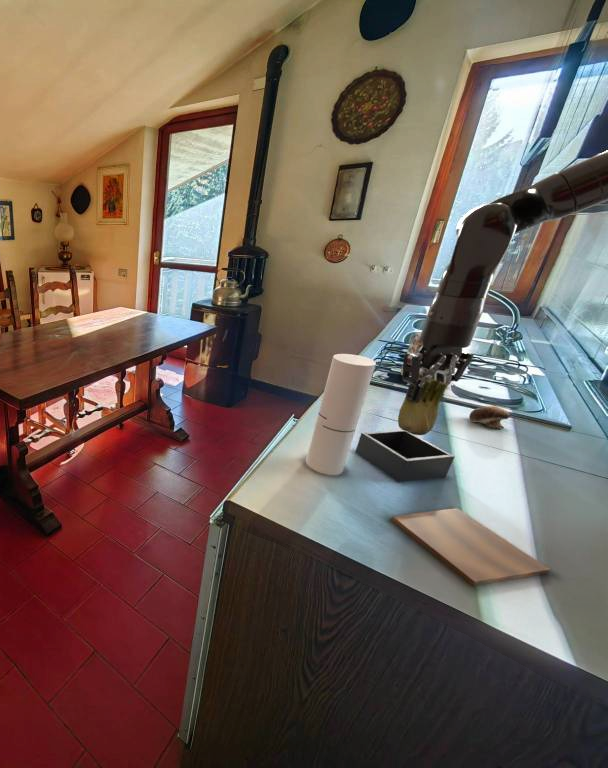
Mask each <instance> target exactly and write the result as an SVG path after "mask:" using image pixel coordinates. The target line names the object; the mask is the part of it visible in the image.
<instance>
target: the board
mask: <svg viewBox="0 0 608 768" xmlns="http://www.w3.org/2000/svg"><path fill="white" fill-rule="evenodd" d="M390 521H392V522H394V524H396V525H397V526H398V527H399V528H401V529H402V530H403V531H404V532H406V533H407V534H408V535H409V536H411V538H413V539H414V540H415V541H416V542H418V543H419V544H421V545H422V546H423V547H425V549H426V550H428V551H429V552H430V553H431V554H433V555H434V556H436V558H438V559H439V560H440V561H442V562H443V563H444V564H446V566H448V567H449V568H450V569H451V570H453V571H454V572H455V573H456V574H458V575H459V576H460V577H461V578H463V580H465V581H467V582H468V583H469V584H470V585H471V586H474V587H475V586H479V585H485V584H486V585H487V584H493V583H498V582H503V581H510V580H517V579H523V578H527V577H533V576H540V575H546V574H549V572H550V571H551V569H550V568H549V567H548V566H546V565H544V564H543V563H541V562H540V561H538V560H537V559H535V558H534V557H533V556H531V555H530V554H527V553H526V552H524V551H523V550H522V549H520V548H518V547H517V546H515V545H514V544H513V543H511V542H509V541H508V540H507V539H506V538H503V537H502V536H500V535H499V534H497V533H496V532H494V531H493V530H491V529H490V528H488V527H487V526H485V525H483V523H481V522H479V521H478V520H476V519H475V518H473V517H472V516H470V515H468V514H467V513H465V512H464V511H462V510H461V509H459V508H458V507H455V508H446V509H439V510H430V511H423V512H415V513H405V514H398V515H392V516H391V518H390Z"/></svg>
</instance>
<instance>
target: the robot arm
mask: <svg viewBox="0 0 608 768" xmlns="http://www.w3.org/2000/svg"><path fill="white" fill-rule="evenodd" d="M607 201H608V150H606V151H604V152H602V153H598V154H595V155H594V156H592V157H589V158H587V159H584V160H582V161H580V162H578V163H576V164H573V165H571V166H568V167H566V168H564V169H561V170H560V171H557V172H555V173H552V174H551V175H549V176H546V177H545V178H543V179H541V180H539V181H537V182H535V183H534V184H531V185H529V186H527V187H525V188H523V189H519V190H517V191H514V192H511V193H509V194H506V195H504V196H501V197H499V198H496V199H495V200H493V201H492V200H491V201H490V202H487V203H485V204H482V205H480V206H477V207H475V208H473V209H471V210H469V211H468V212H467V213H466V214H464V215H463V217H461V218H460V219H459V221H458V223H457V226H456V230H455V232H456V237H457V238H456V243H455V245H454V248H453V252H452V255H451V259H450V261H449V263H448V264H447V266H446V267H445V269H444V271H443V273H442V275H441V279H440V281H439V284H438V288H437V291H436V293H435V295H434V298H433V300H432V301H431V303H430V306H429V309H428V312H427V315H426V318H425V320H424V323H423V327H422V330H421V332H420V333H421V336H420V339H421V340H422V342H423V345H422V347H421V348H420V350H419V351H418V353H415V354H409V353H407V352H406V353H405V354H404V355H403V360H402V361H403V362H402V365H403V373H402V375H401V380H402V381H404V380H405V381H407V382H406V383H409V386H408V389H407V391H406V394H405V397H406V399H407V400H408V401H410V402H412V403H418V402H419V400H420V397H421V394H422V391H423V388H424V387H423V386H424V385H425V383H426V382H427V380H428V379H429V378H430V377H433V376H434V374H435V377H434V379H435V380H438V382H437V384H438V383H439V381H440V382H444V383H446V384H447V385H448V386H449V385H450V384H452V382H455V383H456V382H459V381H460V379H461V377H462V376H463V374H464V373H465V372H466V370H467V368H468V366H469V365H470V363H471V361H472V360H473V358H474V354H473V353H470V352H468V351H464V350H463V349H465V348H468V347H470V345H471V343H472V341H473V338H474V336H475V334H476V331H477V328H478V325H479V322H480V320H481V319H482V318H481V317H482V315H483V312H484V308H485V303H486V300H487V297H488V295H489V292H490V289H491V287H492V284H493V281H494V278H495V274H496V271H497V269H498V266H499V265H500V263H501V261H502V260H503V258H504V256H505V254H506V252H507V250H508V249H509V247H510V244H511V242H512V240H513V238H514V236H515V234H517V233H519V232H522V231H525V230H527V229H530V228H532V227H534V226H537V225H540V224H542V223H547V222H552V221H556V220H559V219H563V218H565V217H568V216H571V215H574V214H576V213H579V212H581V211H584V210H587V209H589V208H592V207H594V206H597V205H599V204H602V203H605V202H607ZM422 367H423V368H424V369H427V370H428V371H424V370H422ZM410 373H411V376H410ZM420 374H423V376H422V377H421V379H420V380H419V375H420ZM442 374H443V375H442ZM405 381H404V382H405ZM436 386H437V385H436ZM435 388H436V387H435ZM446 389H447V388H445V390H444V392H443V394H442V397H441V399H440V401H441V400H442V398H443V396H444V394H445V391H446Z"/></svg>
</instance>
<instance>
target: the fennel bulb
mask: <svg viewBox="0 0 608 768" xmlns="http://www.w3.org/2000/svg"><path fill="white" fill-rule="evenodd" d="M437 382H438V380H435V379H431V382H430V381H429V380H427V382H426V383H425V385H424V386H423V387H424V388H423V391H422V394H421V397H420V400H419V402H418V403H412V402H410V401H408V400H407V399H406V396H405V397H404V400H403V401H402V404H401V407H400V409H399V413H398V416H397V425H398V428H399V429H400V430H402V429H403V430H405V431H407V432H409V433H411V434H414V435H416V436H424V435H427V434H428V433H430V432H431V431H432V429H434V426H435V424H436V421H437V419H438V414H439V407H440V402H441V400H442V398H443V397H442V394H443V392H444V390H445V391H446V389H447V388H446V386H447V384H446V383H444V382H440V381H439V383H438V384H437ZM436 385H437V386H436ZM435 387H436V388H435ZM445 388H446V389H445ZM444 393H445V392H444ZM443 395H444V394H443ZM441 397H442V398H441ZM440 399H441V400H440Z"/></svg>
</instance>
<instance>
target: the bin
mask: <svg viewBox="0 0 608 768" xmlns="http://www.w3.org/2000/svg"><path fill="white" fill-rule="evenodd" d="M355 454H357V455H358V456H360V457H362V458H363V459H364V460H366V461H367V462H369V463H370V464H371V465H373V466H375V467H376V468H377V469H379V470H380V471H382V472H383V473H385V474H386V475H387V476H389V477H390V478H392V479H393V480H395V481H396V482H397V483H406V482H417V481H425V480H431V479H432V480H434V479H443V478H447V476H448V474H449V471H450V469H451V466H452V464H453V462H454V460H455V455H453V454H451V453H449V452H448V451H445V450H444V449H442V448H441V447H438V446H437V445H435V444H433V443H431V442H429V441H427V440H425V439H424V438H421V437H420V436H419V435H414V434H411V433H409V432H407V431H405V430H403V429H392V430H380V431H368V432H361V433H360V436H359V439H358V442H357V445H356V448H355Z"/></svg>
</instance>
